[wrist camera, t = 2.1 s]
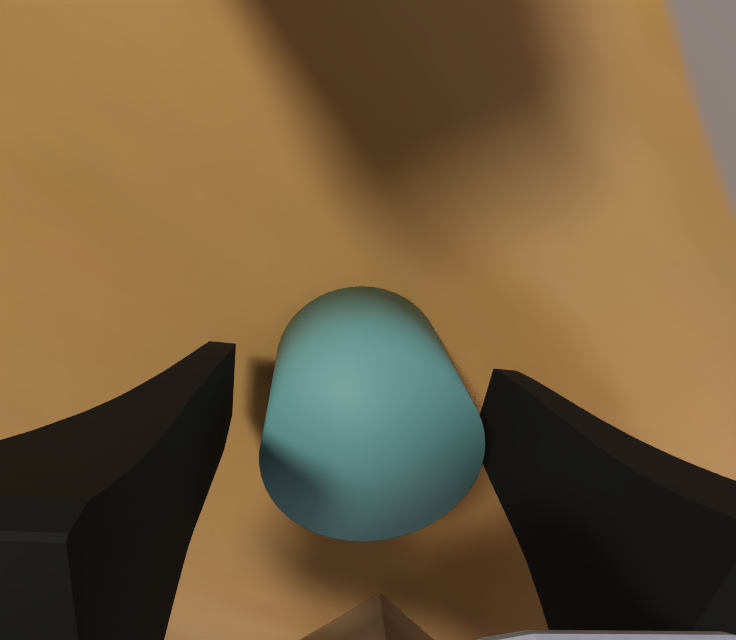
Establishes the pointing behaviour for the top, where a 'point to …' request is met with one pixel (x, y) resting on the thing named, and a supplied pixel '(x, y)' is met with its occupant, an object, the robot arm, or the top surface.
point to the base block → (371, 624)
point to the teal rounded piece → (367, 420)
